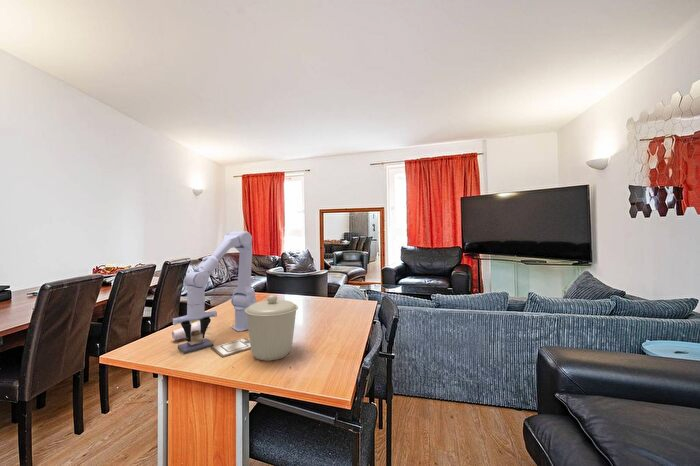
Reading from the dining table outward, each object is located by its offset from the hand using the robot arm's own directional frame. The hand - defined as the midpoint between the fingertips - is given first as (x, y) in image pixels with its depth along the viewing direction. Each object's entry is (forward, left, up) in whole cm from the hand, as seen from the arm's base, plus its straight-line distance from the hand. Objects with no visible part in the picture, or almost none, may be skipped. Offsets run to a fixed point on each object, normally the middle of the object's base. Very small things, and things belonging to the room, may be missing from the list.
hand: (195, 339), depth 103 cm
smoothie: (+5, -11, 0) cm, 12 cm away
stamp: (0, 0, -2) cm, 2 cm away
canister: (-17, +26, -3) cm, 31 cm away
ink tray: (0, 0, -3) cm, 3 cm away
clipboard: (-10, +11, -3) cm, 15 cm away
